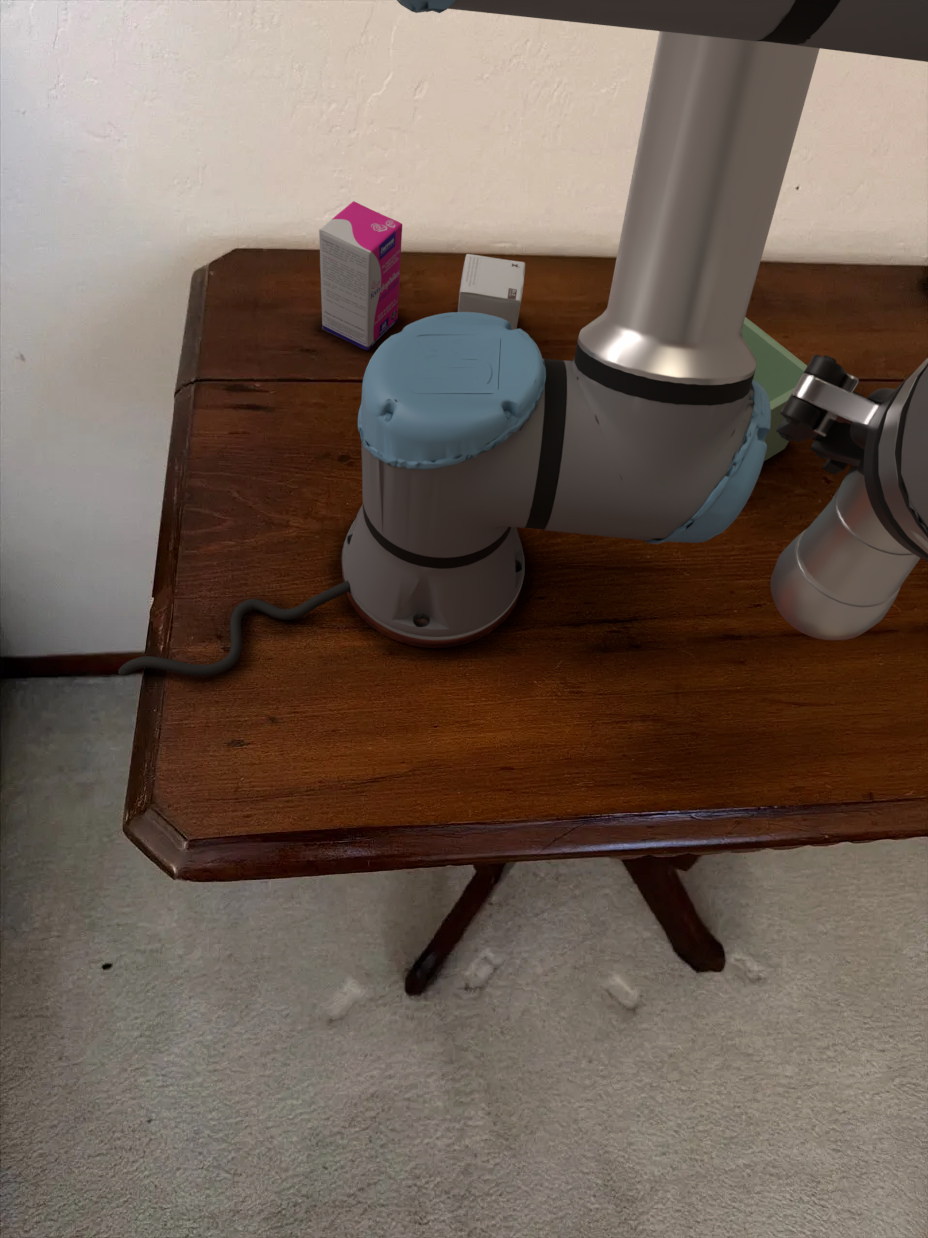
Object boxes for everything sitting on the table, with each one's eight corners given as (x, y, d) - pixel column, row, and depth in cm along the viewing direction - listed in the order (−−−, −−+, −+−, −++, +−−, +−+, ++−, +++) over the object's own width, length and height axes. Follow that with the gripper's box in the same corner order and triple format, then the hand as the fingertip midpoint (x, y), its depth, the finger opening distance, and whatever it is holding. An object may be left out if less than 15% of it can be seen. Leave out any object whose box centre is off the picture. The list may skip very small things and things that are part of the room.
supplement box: (369, 353, 88) (369, 252, 79) (320, 329, 90) (314, 227, 80) (400, 321, 91) (403, 220, 81) (353, 299, 92) (350, 197, 83)
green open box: (687, 508, 81) (719, 439, 73) (590, 417, 86) (611, 344, 78) (784, 448, 86) (824, 378, 78) (687, 366, 91) (716, 293, 84)
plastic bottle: (870, 665, 51) (1118, 420, 34) (755, 639, 51) (945, 384, 34) (866, 576, 55) (1089, 314, 38) (758, 553, 55) (932, 281, 38)
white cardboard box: (459, 313, 93) (465, 251, 86) (516, 320, 93) (526, 259, 86) (453, 352, 89) (458, 291, 83) (512, 360, 89) (522, 299, 83)
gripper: (661, 423, 29) (706, 460, 51) (1268, 730, 25) (1034, 627, 46) (782, 201, 27) (775, 337, 49) (1464, 491, 23) (1124, 500, 45)
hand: (901, 478), depth 48 cm, fingers closed on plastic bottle, 6 cm apart
